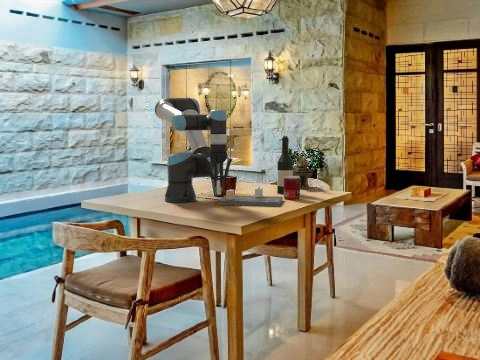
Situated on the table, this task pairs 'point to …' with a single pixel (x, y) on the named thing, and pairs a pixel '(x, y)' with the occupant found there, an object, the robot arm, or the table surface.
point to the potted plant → (302, 172)
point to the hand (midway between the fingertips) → (219, 194)
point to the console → (252, 201)
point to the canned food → (291, 187)
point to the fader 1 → (230, 194)
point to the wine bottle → (283, 166)
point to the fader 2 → (258, 192)
